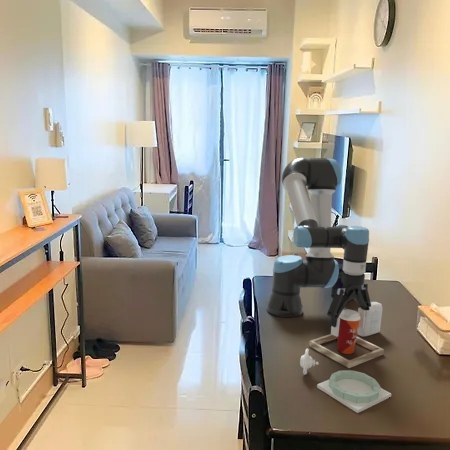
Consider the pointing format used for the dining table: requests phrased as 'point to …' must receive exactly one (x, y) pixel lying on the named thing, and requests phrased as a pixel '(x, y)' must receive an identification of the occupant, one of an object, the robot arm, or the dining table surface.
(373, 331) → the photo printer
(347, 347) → the paper cup
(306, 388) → the dining table surface
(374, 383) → the cup holder
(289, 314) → the robot arm
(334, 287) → the storage jar
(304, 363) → the ring around a ball
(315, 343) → the tray frame
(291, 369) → the dining table surface
